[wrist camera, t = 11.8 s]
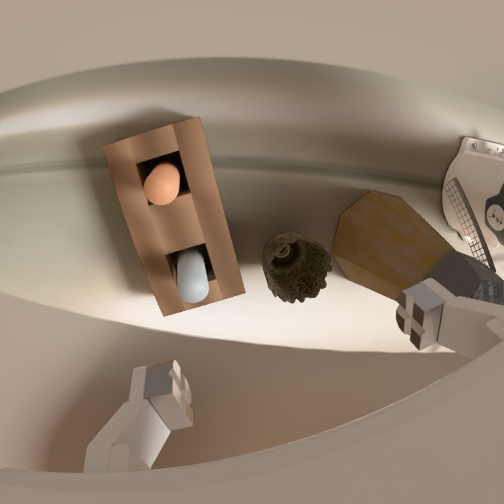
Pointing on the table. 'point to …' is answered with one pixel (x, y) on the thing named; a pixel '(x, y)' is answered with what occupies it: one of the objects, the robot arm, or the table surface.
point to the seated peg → (191, 275)
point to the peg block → (175, 213)
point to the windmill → (409, 250)
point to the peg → (163, 183)
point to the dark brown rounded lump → (295, 267)
